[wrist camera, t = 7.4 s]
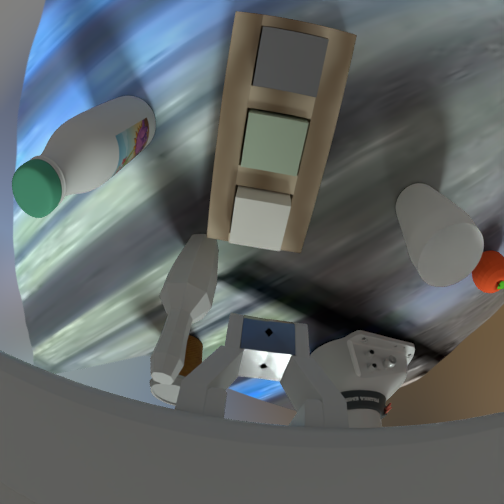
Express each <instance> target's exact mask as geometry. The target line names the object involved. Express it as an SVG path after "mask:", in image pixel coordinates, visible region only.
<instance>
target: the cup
mask: <svg viewBox="0 0 504 504" xmlns="http://www.w3.org/2000/svg"><path fill="white" fill-rule="evenodd" d="M395 210H396V215H397V218H398V221H399V224H400V227H401V230H402V233H403V237H404V240H405V243H406V247H407V250H408V254H409V257H410V259H411V261H412V263H413V265H414V266H415V268H416V269H417V271H418V273H419V274H420V276H421V278H422V279H423V280H424V281H425V282H426V283H427V284H429V285H431V286H435V287H445V286H450V285H453V284H455V283H457V282H459V281H461V280H463V279H464V278H465V277H467V276H468V275H469V274H470V273H471V272H472V271H473V270H474V268H475V267H476V266H477V264H478V263H479V261H480V259H481V256H482V253H483V249H484V240H483V236H482V234H481V232H480V230H479V229H478V228H477V226H476V225H475V224H474V222H473V221H472V219H471V218H470V216H469V215H468V214H467V213H466V212H465V211H464V210H462V209H461V208H460V207H458V206H457V205H456V204H454V203H453V202H452V201H450V200H449V199H448V198H446V197H445V196H443V195H442V194H441V193H439V192H438V191H436V190H435V189H433V188H432V187H431V186H429V185H427V184H423V183H416V184H413V185H410V186H408V187H407V188H405V189H404V190H403V191H402V192H401V194H400V195H399V197H398V199H397V201H396V206H395Z"/></svg>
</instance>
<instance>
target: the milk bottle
mask: <svg viewBox="0 0 504 504" xmlns="http://www.w3.org/2000/svg"><path fill="white" fill-rule="evenodd" d="M155 129H156V121H155V116H154V114H153V111H152V110H151V108H150V106H149V105H148V104H147V103H146V102H145V101H143V100H142V99H140V98H138V97H135V96H121V97H118V98H115V99H112V100H110V101H107V102H105V103H103V104H100V105H98V106H96V107H93V108H91V109H89V110H87V111H85V112H82V113H80V114H78V115H77V116H75V117H73V118H71V119H69V120H68V121H66V122H65V123H64V124H62V125H61V126H60V127H59V128H58V129H57V130H56V131H55V132H54V133H53V135H52V136H51V138H50V139H49V141H48V143H47V145H46V147H45V149H44V151H43V152H42V154H41V155H40V156H36V157H33V158H32V159H31V160H29V161H27V162H26V163H24V164H23V165H21V166H20V167H19V168H18V169H17V170H16V172H15V173H14V176H13V180H12V190H13V194H14V197H15V199H16V201H17V203H18V205H19V206H20V208H21V209H22V210H23V211H24V212H26V213H27V214H28V215H30V216H32V217H36V218H42V217H44V216H47V215H48V214H49V213H51V212H52V211H53V210H54V209H55V208H56V207H57V206H58V205H59V204H60V203H61V202H62V201H63V199H64V197H65V196H67V195H71V194H80V193H85V192H89V191H91V190H94V189H96V188H98V187H99V186H101V185H102V184H104V183H105V182H106V181H108V180H109V179H110V178H111V177H113V176H114V175H115V174H116V173H117V172H118V171H119V170H121V169H122V168H123V167H124V166H125V165H126V164H127V163H129V162H130V161H131V160H132V159H133V158H134V157H135V156H136V155H138V154H139V153H140V152H141V151H142V150H143V149H144V148H145V147H146V146H147V145H148V144H149V143H150V142H151V140H152V139H153V136H154V134H155Z"/></svg>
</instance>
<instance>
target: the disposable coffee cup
mask: <svg viewBox="0 0 504 504" xmlns="http://www.w3.org/2000/svg"><path fill="white" fill-rule="evenodd" d="M202 350H203V345H202V343H201V342H200V341H199V340H198V339H197V338H195V337H193V336H191V335H189V336H188V340H187V345H186V352H185V360H184V366H183V368H182V369H181V371H180V373H179V374H178V376H177V377H176V379H175V380H174V382H173V383H172V384H171V385H168V384H161V383H159V382H156V381H154V380H153V378H152V379H151V380H150V386H151V393H152V394H153V395H154V396H155V397H156V398H158V399H159V400H161V401H163V402H165V403H168V404H170V405H174V406H176V402H177V398H178V394H179V390H180V386H181V382H182V380H183V379H184V378H185V377H186V376H187V375H188V374H190V373H191V372H192V371H193V370H194V369H195V368H196V367H198V366H199V365H200V364H201V363H202Z"/></svg>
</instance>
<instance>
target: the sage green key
mask: <svg viewBox="0 0 504 504" xmlns="http://www.w3.org/2000/svg"><path fill="white" fill-rule="evenodd" d="M308 124H309V123H308V121H307V119H306V118H303V117H299V116H294V115H289V114H283V113H278V112H273V111H267V110H261V109H255V108H251V109H250V112H249V116H248V123H247V129H246V135H245V142H244V148H243V154H242V161H241V167H246V168H252V169H258V170H264V171H270V172H275V173H281V174H286V175H291V176H297V172H298V168H299V163H300V159H301V155H302V150H303V146H304V142H305V137H306V133H307V128H308Z"/></svg>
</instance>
